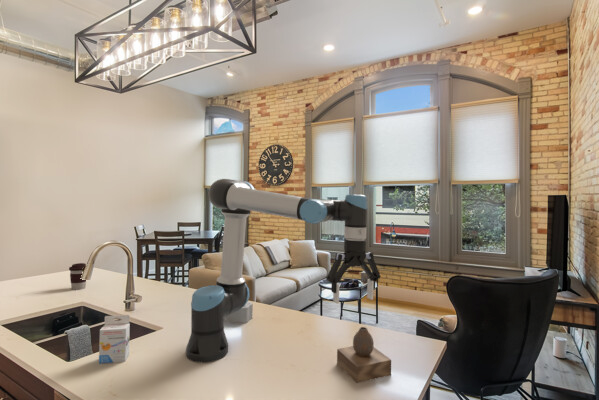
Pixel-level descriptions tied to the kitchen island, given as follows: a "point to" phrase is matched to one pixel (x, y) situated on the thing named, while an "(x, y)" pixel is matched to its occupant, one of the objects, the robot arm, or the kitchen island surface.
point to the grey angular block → (241, 314)
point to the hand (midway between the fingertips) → (353, 300)
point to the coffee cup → (77, 276)
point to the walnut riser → (363, 364)
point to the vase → (363, 342)
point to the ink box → (114, 339)
